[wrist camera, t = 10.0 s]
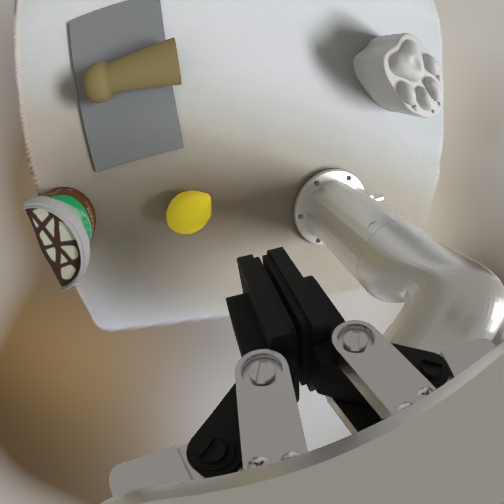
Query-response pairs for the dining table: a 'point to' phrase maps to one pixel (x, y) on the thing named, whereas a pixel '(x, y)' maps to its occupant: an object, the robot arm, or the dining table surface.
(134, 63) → the cork
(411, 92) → the lumpy-topped squat cylinder
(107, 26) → the mat
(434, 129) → the dining table surface
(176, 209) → the lemon
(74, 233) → the food container
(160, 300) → the dining table surface
